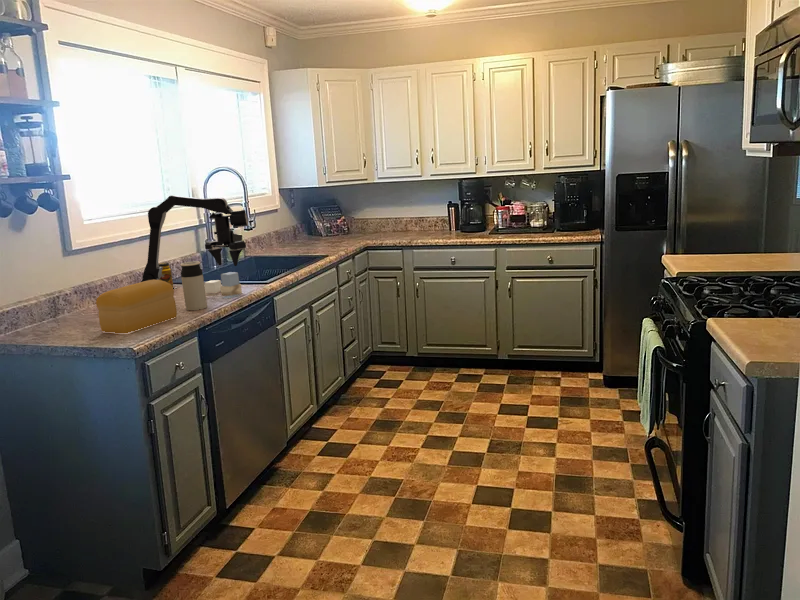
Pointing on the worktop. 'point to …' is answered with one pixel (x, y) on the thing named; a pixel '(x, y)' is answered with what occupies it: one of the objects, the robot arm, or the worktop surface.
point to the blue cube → (230, 279)
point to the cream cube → (212, 286)
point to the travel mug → (193, 286)
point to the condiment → (166, 273)
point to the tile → (231, 296)
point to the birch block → (231, 290)
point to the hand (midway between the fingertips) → (227, 265)
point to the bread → (136, 306)
